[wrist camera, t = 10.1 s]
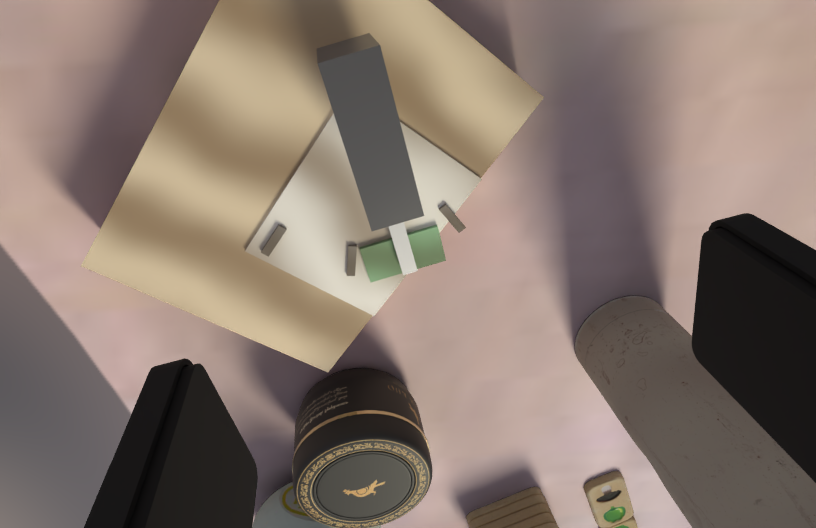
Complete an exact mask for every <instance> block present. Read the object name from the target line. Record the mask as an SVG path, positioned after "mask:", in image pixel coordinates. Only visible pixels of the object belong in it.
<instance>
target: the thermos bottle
mask: <svg viewBox="0 0 816 528" xmlns="http://www.w3.org/2000/svg"><path fill="white" fill-rule="evenodd" d="M575 353H576V356H577V359H578V360H579V362H580V363H581V365H582V366H583V368H584V369H585V371H586V372H587V374H588V375H589V377H590V378H591V380H592V381H593V382H594V384H595V385H596V387H597V388H598V390H599V391H600V392H601V394H602V395H603V397H604V398H605V400H606V401H607V403H608V404H609V406H610V407H611V409H612V410H613V412H614V413H615V415H616V416H617V418H618V419H619V421H620V422H621V424H622V425H623V426H624V428H625V429H626V431H627V432H628V434H629V435H630V437H631V438H632V439H633V441H634V442H635V443H636V445H637V446H638V447H639V449H640V450H641V451H642V452H643V454H644V455H645V456H646V457H647V459H648V460H649V461H650V463H651V465H652V466H653V468H654V469H655V471H656V473H657V474H658V476H659V478H660V479H661V481H662V483H663V484H664V486H665V488H666V489H667V491H668V492H669V494H670V495H671V497H672V498H673V500H674V501H675V503H676V504H677V506H678V507H679V509H680V510H681V512H682V513H683V514H684V516H685V517H686V519H687V520H688V522H689V523H690V525H691V526H692V528H816V483H815V482H814V481H813V480H812V479H811V478H810V477H809V476H808V475H807V474H806V472H805V471H804V470H803V469H802V468H801V467H800V466H799V465H798V464H797V463H796V462H795V461H794V460H793V459H792V458H791V457H790V456H789V455H788V454H787V453H786V452H785V451H784V450H783V449H782V448H781V447H780V446H779V445H778V444H777V443H776V441H775V440H774V439H773V438H772V437H771V436H770V435H769V434H768V433H767V432H766V431H765V430H764V429H763V428H762V427H761V426H760V425H759V424H758V423H757V422H756V421H755V420H754V419H753V418H752V417H751V416H750V415H749V414H748V413H747V412H746V410H745V409H744V408H743V407H742V406H741V405H740V404H739V403H738V402H737V401H736V400H735V399H734V398H733V397H732V396H731V395H730V394H729V393H728V392H727V391H726V390H725V389H724V388H723V387H722V386H721V385H720V384H719V383H718V382H717V381H716V380H715V378H714V377H713V376H712V375H711V374H710V373H709V372H708V371H707V370H706V369H705V368H704V367H703V366H702V365H701V364H700V363H699V362H698V360H697V359H696V357H695V355H694V353H693V350H692V336H691V335H690V334H689V333H688V332H687V331H686V330H685V329H684V328H683V327H682V326H681V325H680V324H679V323H678V322H677V321H676V320H675V319H674V318H673V317H672V316H670V315H669V314H668V313H667V312H666V311H665V310H664V309H663V308H662V307H661V306H660V305H659V304H658V303H657V302H655V301H654V300H652V299H650V298H646V297H643V296H627V297H622V298H618V299H615V300H613V301H610V302H608V303H606V304H604V305H603V306H601V307H600V308H598V309H597V310H596V311H594V312H593V313H592V314H591V315H590V316H589V317H588V318H587V319H586V320H585V322H584V323H583V325H582V326H581V328H580V329H579V332H578V334H577V337H576V342H575Z"/></svg>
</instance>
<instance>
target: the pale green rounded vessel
mask: <svg viewBox="0 0 816 528" xmlns="http://www.w3.org/2000/svg"><path fill="white" fill-rule="evenodd" d="M252 528H336V527H331V526H328V525H325V524H322V523H320V522H317V521H316V520H314V519H312V518H311V517H309V516H308V515H307V514H306V513H305V512H304V511H303V510H302V509H301V508H300V506H299V505H298V503H297V501H296V499H295V495H294V491H293V482H291V483H289V484H287V485H285V486H283V487H282V488H280V489H279V490H277V491H276V492H275V493H273V494H272V495H271V496H270V497H269V498H268V499H267V500H266V501H265V502H264V503H263V505H262V506H261V508H260V509H259V511H258V512H257V514H256V517H255V520H254V522H253V526H252ZM370 528H381V525H379V526H375V527H370Z"/></svg>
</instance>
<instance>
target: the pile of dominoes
mask: <svg viewBox="0 0 816 528" xmlns="http://www.w3.org/2000/svg"><path fill="white" fill-rule="evenodd" d="M584 490H585V493H586V496H587V499H588V502H589V504H590V507H591V510H592V513H593V515H594V518H595V521H596V523H597V524H598V526H599V528H637V524H636V520H635V518H634V516H633V513H634V512H633V508H632V505H631V501H630V498H629V495H628V491H627V488H626V484H625V481H624V478H623V476H622V475H621V473H620V472H618V471H613V472H610V473H608V474H605V475H603V476H600V477H598V478H595V479H593V480H591V481H588V482H587V483H586V484H585V486H584ZM466 519H467V522H468V525H469V528H559V527H558V525H557V523H556V521H555V519H554V517H553V515H552V513H551V510H550V508H549V506H548V503H547V501H546V499H545V497H544V496H543V494H542V492H541V490H540V488H538V487H531V488H528V489H526V490H524V491H521V492H519V493H516V494H514V495H511V496H509V497H506V498H504V499H501V500H499V501H496V502H494V503H491V504H489V505H486V506H484V507H482V508H479V509H477V510H474V511H472V512H470V513H469V514H468V515H467V516H466Z"/></svg>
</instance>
